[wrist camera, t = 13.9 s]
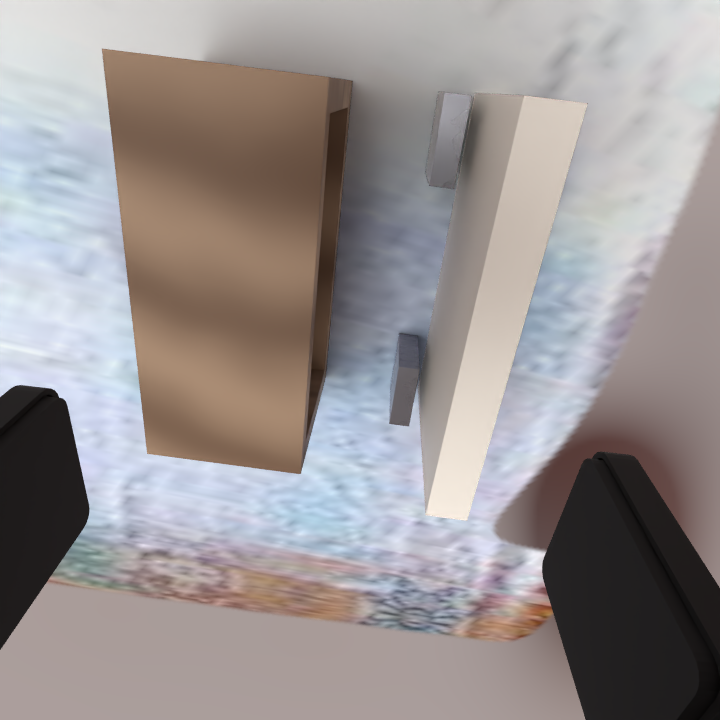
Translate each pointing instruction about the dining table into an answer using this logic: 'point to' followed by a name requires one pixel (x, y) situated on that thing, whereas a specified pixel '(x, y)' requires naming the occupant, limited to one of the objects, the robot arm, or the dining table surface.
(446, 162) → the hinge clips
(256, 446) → the cabinet body
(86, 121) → the dining table surface
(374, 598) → the dining table surface
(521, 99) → the cabinet door
